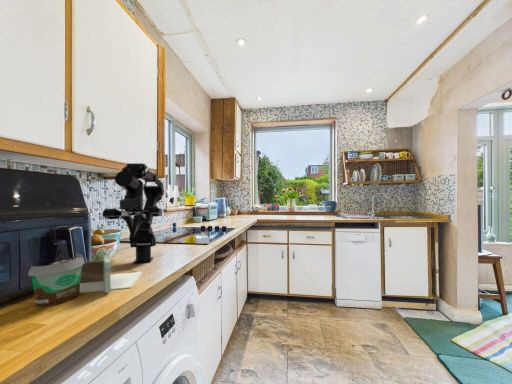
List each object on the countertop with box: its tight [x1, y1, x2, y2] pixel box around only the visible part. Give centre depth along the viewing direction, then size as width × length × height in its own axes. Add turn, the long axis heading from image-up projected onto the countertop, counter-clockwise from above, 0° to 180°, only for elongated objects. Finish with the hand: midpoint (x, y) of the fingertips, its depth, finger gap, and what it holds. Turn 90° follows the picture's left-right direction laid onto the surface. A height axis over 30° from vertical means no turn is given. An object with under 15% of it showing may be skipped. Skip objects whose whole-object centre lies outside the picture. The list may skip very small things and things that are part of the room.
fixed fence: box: [80, 260, 104, 283], centre depth 72 cm, size 1×8×8 cm, turn 104°
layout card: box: [79, 271, 144, 294], centre depth 72 cm, size 14×18×1 cm
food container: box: [27, 253, 86, 308], centre depth 60 cm, size 12×6×10 cm, turn 168°
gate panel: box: [102, 253, 112, 294], centre depth 67 cm, size 1×12×8 cm, turn 35°
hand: (132, 236), depth 83 cm, fingers closed
